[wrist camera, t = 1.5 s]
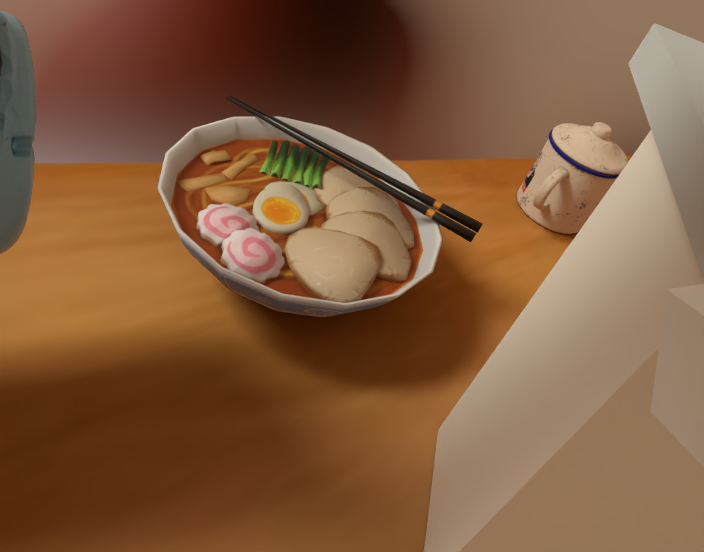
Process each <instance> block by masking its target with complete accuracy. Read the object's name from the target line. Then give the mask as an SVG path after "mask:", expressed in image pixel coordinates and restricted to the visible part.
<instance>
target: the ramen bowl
mask: <svg viewBox="0 0 704 552" xmlns="http://www.w3.org/2000/svg"><path fill="white" fill-rule="evenodd" d="M230 97H232V98H233V99H235V100H237V101H239V102H241V103H243V104H244V105H246V106H248V107H250V108H252V109H253V110H255V111H257V112H259V113H261V114H263V115H264V116H266V117H263V116H261V115H259V114H258V113H256V112H254V111H252V110H250V109H249V108H247V107H245V106H243V105H241V104H239V103H238V102H236V101H234V100H232V99H230V98H229V97H227V99H228V100H230V101H231V102H233V103H235V104H237V105H238V106H240V107H242V108H244V109H245V110H247V111H249V112H250V113H252V114H254V115H255V116H257V117H231V118H228V119H224V120H221V121H217V122H214V123H211V124H207V125H203V126H200V127H196V128H193V129H192V130H191V131H189V132H188V133H187V134H186V135H185V136H184V137H183V138H182V139H181V140H179V141H178V142H177V143H176V144H175V145H174V146H173V147H172V148H171V149H169V150H168V151H167V152H166V154H165V158H164V162H163V167H162V171H161V175H160V180H159V184H158V190H159V192H160V194H161V197H162V199H163V201H164V203H165V206H166V208H167V210H168V212H169V215H170V217H171V219H172V221H173V223H174V226H175V228H176V230H177V232H178V234H179V236H180V238H181V241H182V243H183V244H184V246H185V247H186V248H187V249H188V250H189V252H190V253H191V254H192V255H193V256H194V257H195V258H196V259H197V260H198V261H199V262H200V263H201V264H202V265H203V266H204V267H206V268H207V269H208V270H209V271H210V272H211V273H212V274H213V275H214V276H215V277H216V278H217V279H219V280H220V281H221V282H222V283H223V284H224V285H225V286H226V287H227V288H229V289H230V290H231V291H232V292H234V293H237V294H239V295H241V296H243V297H246V298H248V299H250V300H252V301H255V302H257V303H259V304H261V305H264V306H266V307H268V308H270V309H273V310H275V311H281V312H288V313H295V314H301V315H308V316H315V317H330V316H335V315H340V314H345V313H350V312H355V311H361V310H366V309H371V308H374V307H378V306H381V305H384V304H387V303H388V302H390V301H392V300H394V299H395V298H397V297H399V296H400V295H402V294H403V293H405V292H406V291H407V290H409V289H410V288H412V287H413V286H414V285H416V284H417V283H419V282H420V281H421V280H423V279H424V278H426V277H427V276H428V275H430V274H431V273H433V271H434V267H435V264H436V261H437V258H438V255H439V251H440V248H441V245H442V242H443V238H442V234H441V230H440V226H439V224H440V225H442V226H444V227H445V228H447V229H449V230H451V231H452V232H454V233H456V234H457V235H459V236H461V237H462V238H464V239H466V240H468V241H469V242H471V241H472V240H473V238H474V236H475V235H476V233H474V232H473V231H471V230H469V229H467V228H465V227H464V226H462V225H460V224H458V223H456V222H454V221H453V220H451V219H449V218H447V217H445V216H443V215H442V214H440V213H438V212H436V211H435V209H437V210H438V211H439V212H441V213H443V214H445V215H446V216H448V217H450V218H452V219H454V220H456V221H457V222H459V223H461V224H463V225H465V226H467V227H468V228H470V229H472V230H474V231H476V232H477V233H478V231H479V229H480V227H481V226H482V223H480V222H478V221H476V220H474V219H472V218H470V217H469V216H467V215H465V214H463V213H461V212H459V211H457V210H455V209H453V208H451V207H449V206H447V205H445V204H443V203H440V202H438V201H437V200H435V199H433V198H431V197H429V196H427V195H426V194H424V193H423V191H422V190H421V189H420V188H419V186H418V185H417V184H416V183H415V181H414V180H413V179H412V178H411V176H410V175H409V174H408V173H407V172H405V171H404V170H403V169H401V168H400V167H399V166H397V165H396V164H394V163H393V162H392V161H390V160H389V159H388V158H386V157H385V156H384V155H382V154H381V153H380V152H378V151H377V150H375V149H374V148H373V147H371V146H369V145H367V144H364V143H362V142H360V141H358V140H355V139H353V138H351V137H348V136H346V135H344V134H341V133H339V132H337V131H335V130H332V129H330V128H328V127H323V126H319V125H314V124H310V123H306V122H302V121H297V120H293V119H288V118H284V117H273V116H271V115H269V114H267V113H265V112H263V111H261V110H259V109H257V108H255V107H254V106H251V105H250V104H248V103H246V102H244V101H242V100H240V99H238V98H236V97H234V96H232V95H231V96H230Z"/></svg>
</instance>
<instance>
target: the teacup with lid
mask: <svg viewBox="0 0 704 552" xmlns="http://www.w3.org/2000/svg"><path fill="white" fill-rule="evenodd" d="M610 134H611V128H610V127H609V126H607V125H606V124H604V123H601V122H598V123H595V124H594V126H593V127H590V126H581V125H577V124H570V123H567V124H561V125H558V126H556V127H555V128H554V129H553V130H551V132H550V134H549V139H548V141H547V143H546V144H545V146H544V148H543V149H542V151H541V153H540V155H539V156H538V158H537V160H536V161H535V163H534V165H533V166H532V168H531V170H530V171H529V173H528V175H527V176H526V178H525V180H524V182H523V183H522V185H521V187H520V188H519V190H518V192H517V200H518V203H519V205H520V207H521V208H522V210H523V211H524V212H525V213H526V214H527V215H528V216H529V217H530V218H531V219H532V220H533V221H535V222H536V223H538V224H539V225H541V226H543V227H545V228H547V229H549V230H552V231H555V232H558V233H564V234H573V233H577V232H579V231H580V229H581V228H582V227H583V225H584V224H585V222H586V221H587V220H588V218H589V217H590V215H591V214H592V213H593V211H594V210H595V208H596V207H597V205H598V204H599V203H600V201H601V200H602V198H603V197H604V196H605V194H606V193H607V191H608V190H609V189H610V187H611V186H612V184H613V183H614V182H615V180H616V179H617V177H618V176H619V174H620V173H621V172H622V170H623V169H624V167H625V166H626V165H627V163H628V161H627V158H626V156H625V154H624V153H623V151H622V150H621V149H620V148H619V147H618V146H617V145H616V144H615V143H614V141H613V140H612V138H611V137H610Z"/></svg>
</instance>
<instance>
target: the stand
mask: <svg viewBox="0 0 704 552" xmlns="http://www.w3.org/2000/svg"><path fill="white" fill-rule="evenodd" d="M629 66H630V69H631V72H632V75H633V78H634V81H635V84H636V86H637V90H638V93H639V95H640V98H641V101H642V104H643V107H644V110H645V113H646V116H647V118H648V122H649V125H650V128H651V131H650V132H649V134H648V135H647V137H646V138H645V139H644V141H643V142H642V144H641V145H640V147H639V148H638V149H637V151H636V152H635V154H634V155H633V156H632V158H631V159H630V160H629V162H628V163H627V165H626V166H625V167H624V169H623V170H622V172H621V173H620V174H619V176H618V177H617V179H616V180H615V182H614V183H613V184H612V186H611V187H610V189H609V190H608V191H607V193H606V194H605V196H604V197H603V198H602V200H601V201H600V203H599V204H598V205H597V207H596V208H595V210H594V211H593V213H592V214H591V215H590V217H589V218H588V220H587V221H586V222H585V224H584V225H583V227H582V228H581V229H580V231H579V232H578V234H577V235H576V236H575V238H574V239H573V241H572V242H571V244H570V245H569V246H568V248H567V249H566V251H565V252H564V253H563V255H562V256H561V258H560V259H559V260H558V262H557V263H556V265H555V266H554V267H553V269H552V270H551V272H550V273H549V275H548V276H547V277H546V279H545V280H544V282H543V283H542V284H541V286H540V287H539V289H538V290H537V291H536V293H535V294H534V296H533V297H532V298H531V300H530V301H529V303H528V304H527V305H526V307H525V308H524V310H523V311H522V313H521V314H520V315H519V317H518V318H517V320H516V321H515V322H514V324H513V325H512V327H511V328H510V329H509V331H508V332H507V334H506V335H505V336H504V338H503V339H502V341H501V342H500V344H499V345H498V346H497V348H496V349H495V351H494V352H493V353H492V355H491V356H490V358H489V359H488V360H487V362H486V363H485V365H484V366H483V367H482V369H481V370H480V372H479V373H478V375H477V376H476V377H475V379H474V380H473V382H472V383H471V384H470V386H469V387H468V389H467V390H466V391H465V393H464V394H463V396H462V397H461V398H460V400H459V401H458V403H457V404H456V405H455V407H454V408H453V410H452V411H451V413H450V414H449V415H448V417H447V418H446V420H445V421H444V422H443V424H442V425H441V427H440V428H439V429H438V435H437V444H436V452H435V461H434V469H433V478H432V486H431V495H430V503H429V512H428V520H427V529H426V537H425V545H424V552H704V467H703V466H702V465H701V464H700V463H699V462H698V461H697V460H696V458H695V457H694V456H693V455H692V454H691V453H690V452H689V451H688V450H687V449H686V448H685V447H684V446H683V445H682V444H681V443H680V442H679V441H678V440H677V439H676V438H675V437H674V436H673V435H672V434H671V432H670V431H669V430H668V429H667V428H666V427H665V426H664V425H663V424H662V423H661V422H660V421H659V420H658V419H657V418H656V417H655V416H654V415H653V414H652V413H651V404H652V397H653V390H654V382H655V375H656V367H657V360H658V353H659V345H660V338H661V330H662V323H663V315H664V308H665V301H666V293H667V290H668V289H674V288H680V287H686V286H692V285H698V284H704V43H702V42H699V41H697V40H695V39H692V38H690V37H687V36H684V35H682V34H679V33H677V32H675V31H672V30H670V29H667V28H665V27H662V26H660V25H657V24H653V26H652V27H651V29H650V30H649V32H648V34H647V35H646V37H645V38H644V40H643V42H642V43H641V45H640V46H639V48H638V49H637V51H636V53H635V54H634V56H633V58H632V59H631V60H630V62H629Z"/></svg>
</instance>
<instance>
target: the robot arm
mask: <svg viewBox="0 0 704 552" xmlns="http://www.w3.org/2000/svg"><path fill="white" fill-rule="evenodd" d="M35 123H36V100H35V81H34V70H33V62H32V55H31V50H30V46H29V40H28V36H27V33H26V31H25V28H24V26H23V25H22V23H21V22H20V21H19V20H18V19H17V18H16V17H15V16H13V15H11V14H9V13H6V12H3V11H0V254H2V253H4V252H5V251H7V250H8V249H10V248H11V247H12V246H13V245H14V244H15V243H16V241H17V240H18V239H19V237H20V235H21V234H22V231H23V229H24V227H25V224H26V220H27V216H28V212H29V207H30V201H31V194H32V187H33V178H34V159H35V158H34V151H33V147H32V143H33V141H34V132H35ZM651 413H652V414H653V415H654V416H655V417H656V418H657V419H658V420H659V421H660V422H661V423H662V424H663V425H664V426H665V427H666V428H667V429H668V430H669V431H670V432H671V434H672V435H673V436H674V437H675V438H676V439H677V440H678V441H679V442H680V443H681V444H682V445H683V446H684V447H685V448H686V449H687V450H688V451H689V452H690V453H691V454H692V455H693V456H694V457H695V458H696V460H697V461H698V462H699V463H700V464H701V465H702V466H703V467H704V284H698V285H692V286H686V287H680V288H674V289H668V290H667V293H666V301H665V308H664V315H663V323H662V330H661V338H660V345H659V353H658V360H657V367H656V375H655V382H654V390H653V397H652V404H651Z"/></svg>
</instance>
